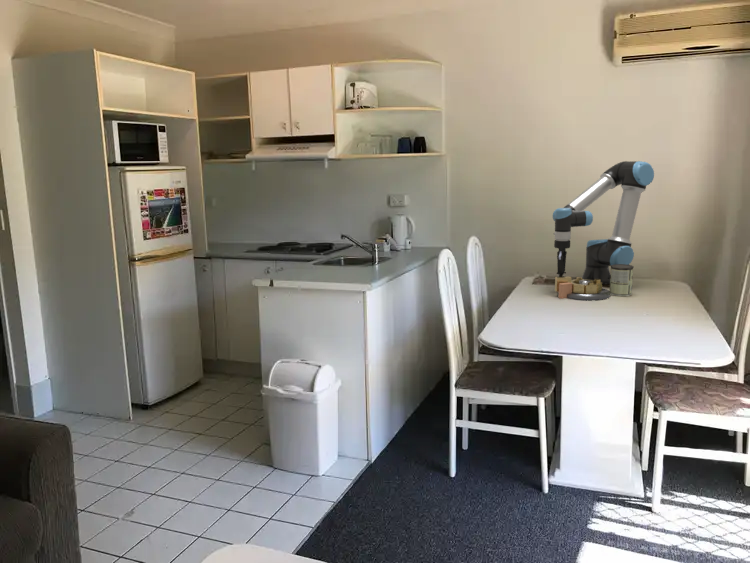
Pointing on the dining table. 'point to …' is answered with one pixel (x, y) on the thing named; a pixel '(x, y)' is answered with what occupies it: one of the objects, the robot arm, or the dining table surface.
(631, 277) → the coffee can
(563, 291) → the block
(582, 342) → the dining table surface
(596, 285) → the gold octagonal ring
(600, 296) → the plate
